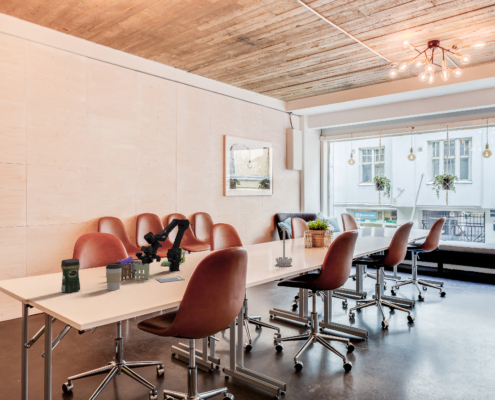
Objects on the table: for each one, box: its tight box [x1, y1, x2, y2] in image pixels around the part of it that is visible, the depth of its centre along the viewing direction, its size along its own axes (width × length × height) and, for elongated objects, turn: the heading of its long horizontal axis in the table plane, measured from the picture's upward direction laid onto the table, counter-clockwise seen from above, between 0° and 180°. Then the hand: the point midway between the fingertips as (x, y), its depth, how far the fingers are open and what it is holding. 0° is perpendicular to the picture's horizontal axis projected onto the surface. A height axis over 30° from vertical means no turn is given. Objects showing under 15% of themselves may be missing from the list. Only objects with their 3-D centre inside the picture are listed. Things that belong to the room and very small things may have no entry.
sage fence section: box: [131, 263, 150, 280], centre depth 253 cm, size 12×2×10 cm, turn 73°
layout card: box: [155, 275, 185, 284], centre depth 251 cm, size 16×11×1 cm
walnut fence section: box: [121, 263, 132, 281], centre depth 250 cm, size 11×2×10 cm, turn 120°
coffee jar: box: [60, 258, 81, 294], centre depth 220 cm, size 10×8×19 cm
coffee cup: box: [105, 261, 122, 291], centre depth 226 cm, size 9×9×15 cm
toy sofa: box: [117, 255, 142, 274], centre depth 274 cm, size 21×9×10 cm, turn 171°
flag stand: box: [275, 226, 293, 267], centre depth 303 cm, size 13×13×30 cm
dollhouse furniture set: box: [160, 246, 186, 267], centre depth 310 cm, size 14×29×11 cm, turn 175°
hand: (141, 267), depth 253 cm, fingers closed
